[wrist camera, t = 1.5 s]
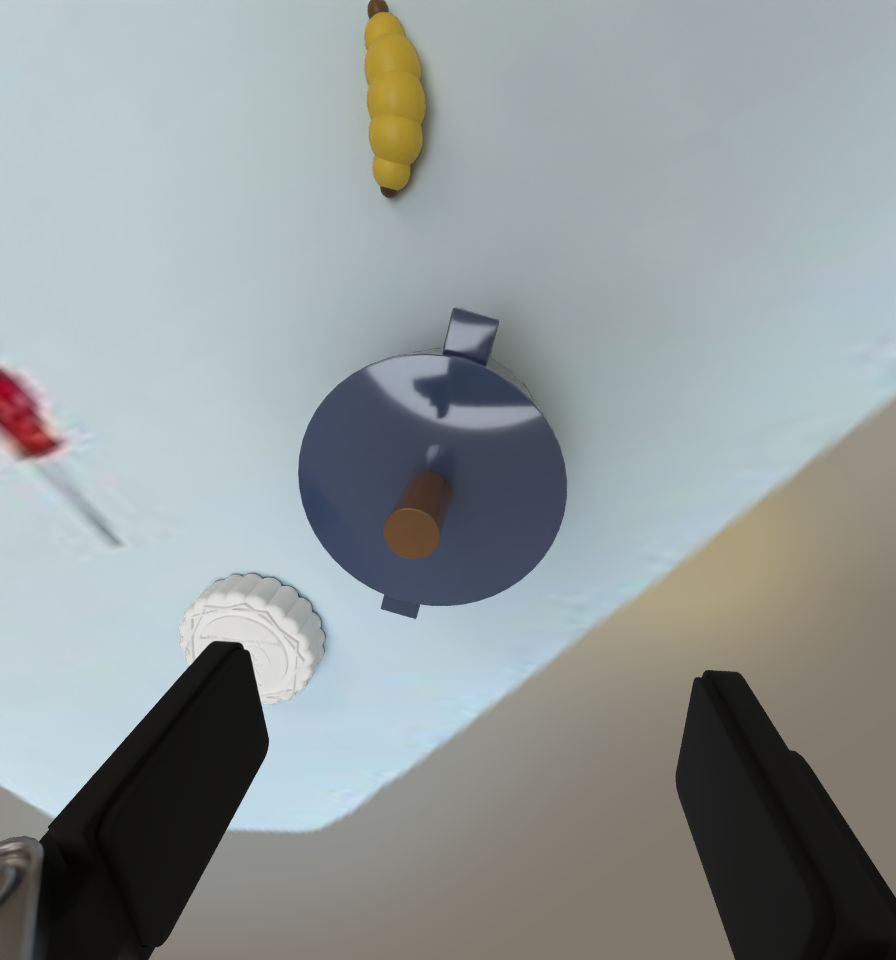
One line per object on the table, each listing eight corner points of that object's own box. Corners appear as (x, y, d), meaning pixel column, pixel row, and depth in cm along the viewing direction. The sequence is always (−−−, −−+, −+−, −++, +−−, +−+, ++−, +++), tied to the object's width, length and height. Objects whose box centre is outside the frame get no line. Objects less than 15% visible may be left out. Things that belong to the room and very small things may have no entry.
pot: (338, 530, 38) (293, 591, 30) (383, 282, 31) (339, 277, 23) (501, 576, 38) (499, 651, 30) (585, 337, 30) (612, 351, 22)
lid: (292, 557, 30) (242, 617, 24) (326, 317, 24) (271, 324, 18) (517, 622, 29) (520, 697, 24) (605, 395, 24) (635, 425, 18)
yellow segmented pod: (432, 199, 28) (423, 188, 26) (379, 201, 29) (364, 190, 26) (427, 7, 25) (417, -32, 22) (368, 12, 26) (350, -25, 23)
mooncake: (211, 673, 45) (187, 703, 42) (188, 566, 41) (159, 590, 38) (331, 686, 44) (316, 718, 41) (320, 577, 40) (303, 603, 36)
